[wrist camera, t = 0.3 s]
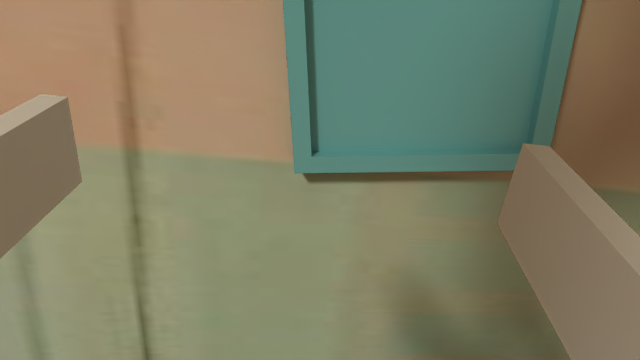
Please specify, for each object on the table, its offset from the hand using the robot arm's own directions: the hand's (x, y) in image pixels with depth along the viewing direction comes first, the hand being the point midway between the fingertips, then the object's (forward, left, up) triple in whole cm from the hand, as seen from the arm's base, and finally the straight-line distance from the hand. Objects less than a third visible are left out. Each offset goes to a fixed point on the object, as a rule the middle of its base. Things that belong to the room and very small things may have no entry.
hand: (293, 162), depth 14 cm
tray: (+2, +8, -27) cm, 28 cm away
